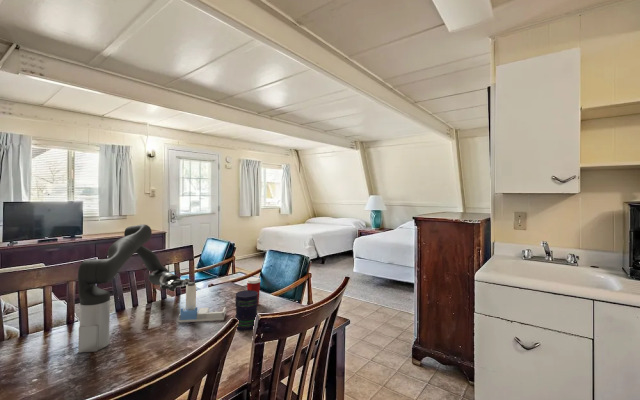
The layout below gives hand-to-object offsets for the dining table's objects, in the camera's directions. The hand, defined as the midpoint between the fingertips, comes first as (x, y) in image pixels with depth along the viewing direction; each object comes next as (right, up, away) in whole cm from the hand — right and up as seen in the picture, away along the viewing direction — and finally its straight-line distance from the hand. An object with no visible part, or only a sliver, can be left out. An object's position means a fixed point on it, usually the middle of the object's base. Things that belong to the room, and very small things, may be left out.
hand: (181, 286), depth 149 cm
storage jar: (+36, -14, -15) cm, 42 cm away
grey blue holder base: (+13, -13, -6) cm, 20 cm away
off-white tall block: (+8, -12, -7) cm, 16 cm away
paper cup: (+33, -14, +13) cm, 38 cm away
